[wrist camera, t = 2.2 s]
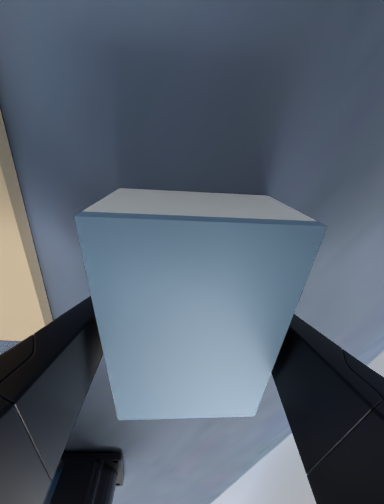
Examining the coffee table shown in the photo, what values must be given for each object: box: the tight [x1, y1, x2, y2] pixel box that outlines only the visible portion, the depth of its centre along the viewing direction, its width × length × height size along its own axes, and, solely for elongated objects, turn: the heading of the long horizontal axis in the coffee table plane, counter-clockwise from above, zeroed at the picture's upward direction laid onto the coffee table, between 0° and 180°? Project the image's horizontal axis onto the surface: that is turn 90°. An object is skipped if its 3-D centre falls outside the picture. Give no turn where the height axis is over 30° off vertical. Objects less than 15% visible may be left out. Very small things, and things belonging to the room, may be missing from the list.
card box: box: [74, 188, 327, 420], centre depth 8 cm, size 9×6×4 cm, turn 177°
